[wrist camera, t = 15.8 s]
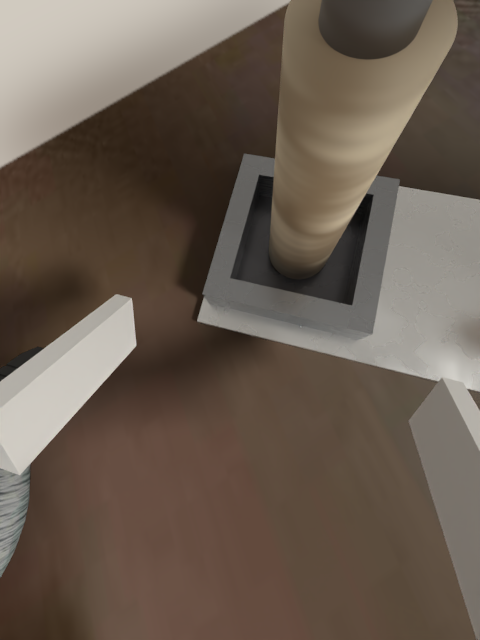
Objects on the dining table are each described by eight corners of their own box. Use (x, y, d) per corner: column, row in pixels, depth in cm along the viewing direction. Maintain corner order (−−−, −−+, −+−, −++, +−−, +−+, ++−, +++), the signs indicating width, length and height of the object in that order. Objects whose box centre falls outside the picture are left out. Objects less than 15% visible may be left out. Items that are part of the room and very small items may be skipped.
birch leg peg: (333, 230, 21) (505, -111, 6) (321, 285, 20) (485, 41, 6) (276, 219, 22) (310, -121, 7) (262, 272, 21) (268, 18, 6)
